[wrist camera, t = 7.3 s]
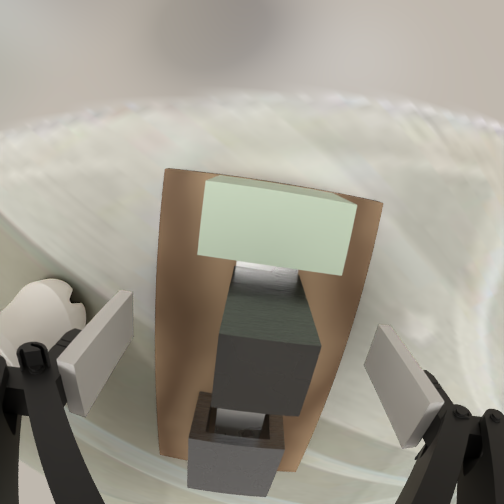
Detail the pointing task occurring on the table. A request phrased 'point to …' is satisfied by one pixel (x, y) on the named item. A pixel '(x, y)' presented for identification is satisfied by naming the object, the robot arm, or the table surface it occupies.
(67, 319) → the water bottle
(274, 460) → the sleeve
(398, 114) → the table surface
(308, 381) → the rod
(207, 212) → the socket block
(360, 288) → the base board
